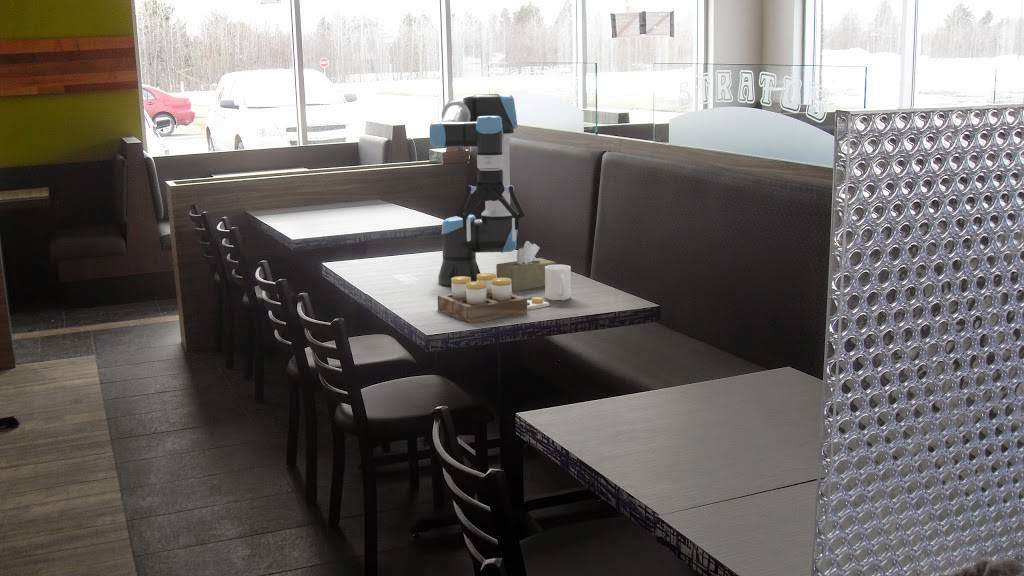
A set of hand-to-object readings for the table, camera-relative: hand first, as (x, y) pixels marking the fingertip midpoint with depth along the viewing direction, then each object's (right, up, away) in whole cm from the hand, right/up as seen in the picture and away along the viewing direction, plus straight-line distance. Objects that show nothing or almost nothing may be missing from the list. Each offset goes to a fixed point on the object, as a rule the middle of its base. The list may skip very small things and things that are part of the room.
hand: (491, 240), depth 293 cm
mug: (+21, -18, +24) cm, 37 cm away
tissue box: (+11, -14, +45) cm, 49 cm away
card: (+10, -19, +17) cm, 28 cm away
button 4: (+3, -17, +6) cm, 19 cm away
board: (-3, -21, +9) cm, 23 cm away
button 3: (-2, -16, +14) cm, 21 cm away
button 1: (-9, -17, +9) cm, 21 cm away
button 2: (-5, -19, +2) cm, 19 cm away
